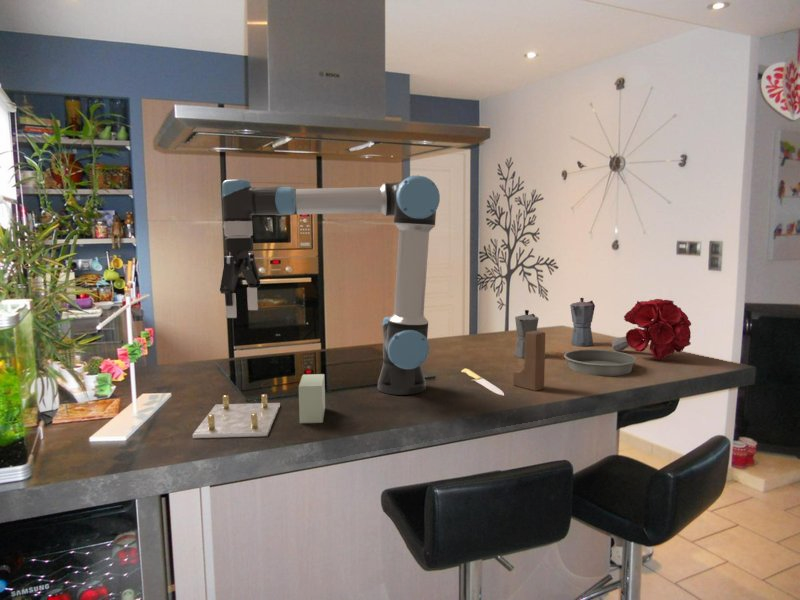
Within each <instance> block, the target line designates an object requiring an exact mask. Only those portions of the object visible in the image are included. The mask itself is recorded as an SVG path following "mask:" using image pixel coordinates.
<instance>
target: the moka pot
mask: <svg viewBox="0 0 800 600" xmlns="http://www.w3.org/2000/svg"><path fill="white" fill-rule="evenodd" d="M579 299H580V301H579V302H572V303H571V304H570V306H569V307H570V313H571V321H572V325H573V329H572V337H571V345H572V346H576V347H591V346H594V338H593V334H592V333H593V332H592V327H591V326H592V323H593V319H594V318H593V317H594V312H595V308H596V305H595V303H594V301H593V300H592V299H591V300H589V301H584V299H585V298H584V297H580V298H579Z"/></svg>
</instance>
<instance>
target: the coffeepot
mask: <svg viewBox="0 0 800 600" xmlns="http://www.w3.org/2000/svg"><path fill="white" fill-rule="evenodd" d="M529 312H530V310H528V309H525V310H524V314H521V315H518V316H515V317H514V318H515V327H516V335H517V339H516V343H515V348H514V349H515V350H514V356H515V357H516V358H519V359H525V339H526V332H530V331H538V324H539V317H538V316H536V315H535V314H534V313H530V314H529Z"/></svg>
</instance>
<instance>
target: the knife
mask: <svg viewBox="0 0 800 600" xmlns="http://www.w3.org/2000/svg"><path fill="white" fill-rule="evenodd" d="M461 373H465V374H467V376H469V377H471V378H474V379H471V381H475V382H476V383H478V384H479V385H482V386H483V387H485V388H486V389H488V390H489V391H491V392H492V393H495V394H496V395H499V396H505V394H504V391H503V390H501V389H500V388H499V387H498V386H496V385H494V384H493V383H492V382H489V381H488V380H487V379H485V378H483V377H482V376H480V375H479V374H477V373H475V372H474V371H473V370H471V369H469V368H463V369H461Z"/></svg>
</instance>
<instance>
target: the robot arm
mask: <svg viewBox="0 0 800 600" xmlns="http://www.w3.org/2000/svg"><path fill="white" fill-rule="evenodd" d="M221 186H222V187H221V188H222V189H221V190H222V191H221V192H222V193H221V195H222V196H221V200H222V201H221V202H222V215H223V226H222V228H223V230H224V231H223V233H224V236H225V237H226V238H225V239H224V251H225V252H226V253H230V255H225V256H223V268H222V277H221V279H220V281H221V282H220V286H219V287H220V288H219V292H220V293H221V294H223V295H224V298H225V299H224V300H225V318H227V319H237V317H238V316H237V315H238V314H237V313H238V312H237V311H238V309H237V297H236V294H237V293H235V289H236V286H237V283H238V279H239V276H240V274H241V273H242V275H243V277H244V279H245V281H246V285H247V286H248V287H246V295H247V310H248V311H259V305H258V304H259V303H258V288H260V287H261V278H260V275H259V272H258V267H257V265H256V260H255V253H253V252H252V251H254V239H253V238H252V237H251V236H253V234H254V232H253V231H254V230H253V218H252V217H253V216H270V215H271V216H274V215H275V216H278V217H279V216H281V217H282V216H293V215H294V216H295V215H327V214H328V215H329V214H331V215H332V214H333V215H334V214H335V215H336V214H364V213H365V214H366V213H368V214H369V213H372V214H373V213H381V214H382V215H384V216H385V217H386V216H387V217H388V216H393V217H394V219H393V225H394V226H395V227H397V230H398V239H397V255H396V257H397V258H396V271H395V273H396V275H395V288H394V289H395V290H394V301H393V302H394V304H393V307H394V308H393V314H392V315H391V316H385V317H384V318H383V319H382V325H381V326H382V327H381V328H382V367H381V370H380V374H379V377H378V380H377V391H380V392H381V393H384V394H387V395H395V396H396V395H398V396H406V395H416V394H419V393H422V392H424V391H425V390H426V389H427V388H426V387H427V382H426V379H425V374H424V371H423V369H422V365H423V364H424V363H425V362H426V360H427V359H428V356H429V353H430V343H429V340H428V334H429V333H428V332H429V321H428V319H427V318H426V317H425V315H424V314H425V299H426V286H427V285H426V283H427V269H428V255H429V240H430V232H431V231H432V230H433V229H434V228H435V227H436V221H437V220H436V218H437V217H436V216H437V209H438V207H440V206H439V205H440V198H441V197H440V196H441V195H440V191H439V188H438V186H437V184H435V182H434V181H433V180H432V179H430V178H428V177H426V176H424V175H418V174H417V175H409V176H407V177H406V178H404V179H403V180H401V181H396V182H389V183H388V182H387V183H386V182H384V183H382V185H381V186H364V187H363V186H362V187H360V186H359V187H356V186H355V187H329V188H328V187H326V188H325V187H323V188H321V187H318V188H294V187H292V186H267V187H265V186H264V187H263V186H262V187H259V186H258V187H257V186H255V187H254V186H252V185H251V182H250V181H249V180H247V179H226V180H224V181H223V182H222V185H221ZM249 252H252V253H249Z"/></svg>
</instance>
